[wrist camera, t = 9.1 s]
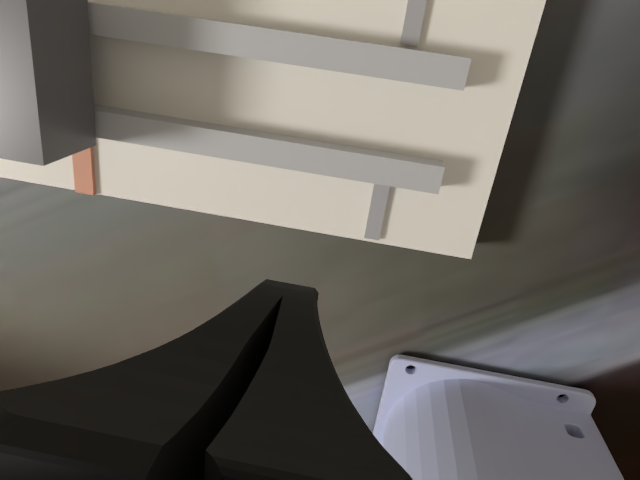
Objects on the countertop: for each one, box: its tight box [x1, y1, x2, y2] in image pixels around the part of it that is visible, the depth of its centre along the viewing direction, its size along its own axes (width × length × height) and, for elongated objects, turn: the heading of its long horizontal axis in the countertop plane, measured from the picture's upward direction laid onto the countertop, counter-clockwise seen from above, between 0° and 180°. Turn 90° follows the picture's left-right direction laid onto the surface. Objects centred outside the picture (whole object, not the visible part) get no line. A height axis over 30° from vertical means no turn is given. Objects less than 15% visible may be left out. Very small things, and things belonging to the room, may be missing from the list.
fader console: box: [0, 0, 546, 259], centre depth 18 cm, size 22×10×2 cm, turn 82°
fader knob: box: [0, 0, 96, 166], centre depth 16 cm, size 4×5×4 cm
